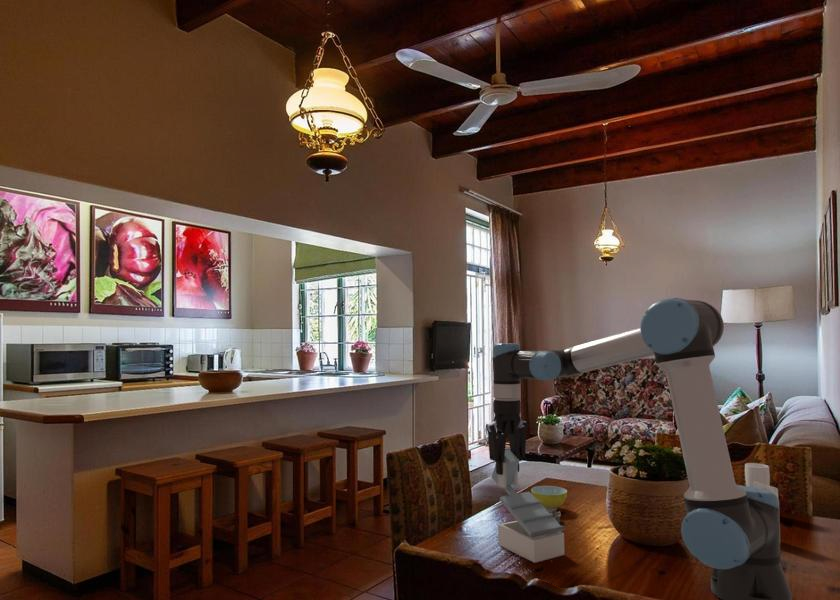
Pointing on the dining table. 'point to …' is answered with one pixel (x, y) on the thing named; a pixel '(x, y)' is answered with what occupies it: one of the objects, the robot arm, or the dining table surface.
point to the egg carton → (555, 514)
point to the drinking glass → (757, 474)
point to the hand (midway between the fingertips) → (508, 485)
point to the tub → (530, 542)
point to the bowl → (550, 496)
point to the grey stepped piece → (525, 504)
